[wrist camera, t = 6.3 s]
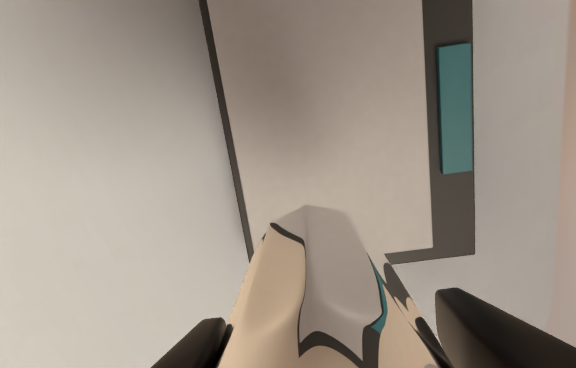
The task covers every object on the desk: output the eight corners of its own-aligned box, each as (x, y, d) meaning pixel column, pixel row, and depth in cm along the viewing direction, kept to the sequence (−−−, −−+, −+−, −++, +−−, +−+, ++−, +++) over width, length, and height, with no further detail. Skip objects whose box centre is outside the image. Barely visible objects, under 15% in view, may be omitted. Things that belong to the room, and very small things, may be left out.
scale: (447, -61, 17) (479, -84, 14) (455, 232, 21) (481, 261, 18) (205, -21, 17) (188, -35, 14) (257, 257, 21) (251, 289, 18)
